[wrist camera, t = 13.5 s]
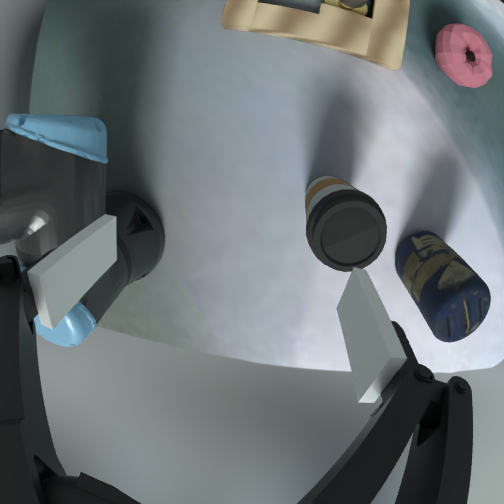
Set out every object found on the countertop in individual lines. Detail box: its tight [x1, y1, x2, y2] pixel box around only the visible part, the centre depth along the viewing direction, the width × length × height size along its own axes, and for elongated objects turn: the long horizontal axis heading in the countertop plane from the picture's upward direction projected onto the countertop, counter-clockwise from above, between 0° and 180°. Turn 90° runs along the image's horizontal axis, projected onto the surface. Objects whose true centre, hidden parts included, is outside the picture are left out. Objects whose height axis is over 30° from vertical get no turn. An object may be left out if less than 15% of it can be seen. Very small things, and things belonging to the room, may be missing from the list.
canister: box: [395, 231, 491, 342], centre depth 34 cm, size 10×10×18 cm
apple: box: [435, 23, 493, 88], centre depth 23 cm, size 10×9×10 cm
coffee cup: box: [305, 176, 387, 272], centre depth 33 cm, size 8×8×15 cm
